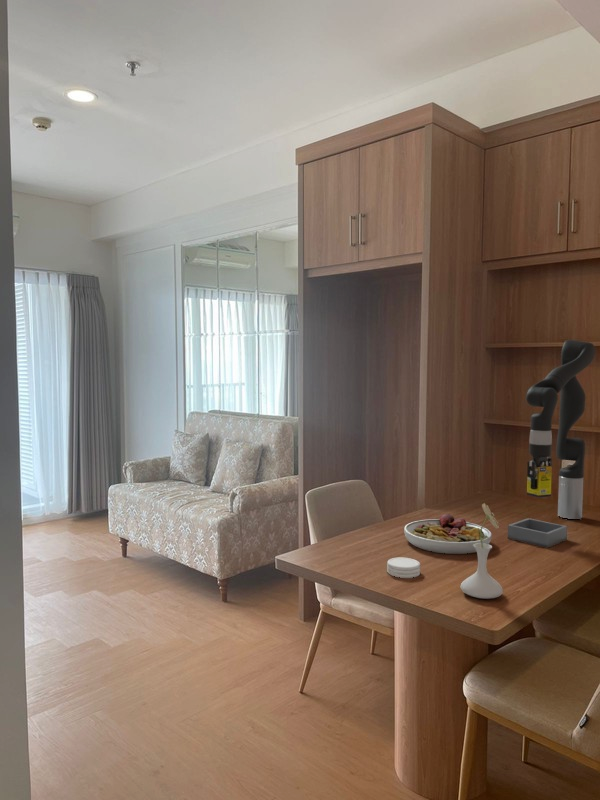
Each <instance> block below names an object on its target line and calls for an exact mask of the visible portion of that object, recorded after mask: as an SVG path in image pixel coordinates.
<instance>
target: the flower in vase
mask: <svg viewBox="0 0 600 800" xmlns="http://www.w3.org/2000/svg"><path fill="white" fill-rule="evenodd" d="M481 507H482V510H483V512H484V514H485V518H484V521H483V523H482V524H481V526H482V527H481V530H480V529H479V531H480V536H481V539H480V540H481V543H476V544H474V545H473V546H474V547H475V549H476V551H477V552H476V554H477V569H476V572H474V573H473V574H471V575H470V576H468V577H467V578H465V579H464V580H463V581H462V582H461V584H460V589H461V591H462V592H463V593H464V594H466V595H468V596H470V597H473V598H477V599H486V600H490V599H496V598H499V597H500V596H501V595H502V594H503V593H504V589H503V587H502V586H501V584H500V583H499V582H498V581H497V580H496V579H494V577H492V576H491V574H489V572H488V570H487V563H488V562H487V560H488V555H489V553H490V551H491V550H492V549H493V546H492V545H491V544H490V543H489V544H485V543H482V540H484V539H486V538H488V536H487V535H486V536H485V537H484V538H482V537H483V535H482V528H483V527H484V526H485V523H486V521H487V520H488V521H489V522H490V524H491V525H492V526H493V527H494V528H495V529H496V530H497V529H500V526H499V525H500V524H499V522H498V520H497V519H496V518H495V514H494V512H491V509H490V507H489V505H487V504H486V503H482V504H481Z"/></svg>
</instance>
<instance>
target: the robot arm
mask: <svg viewBox="0 0 600 800" xmlns="http://www.w3.org/2000/svg"><path fill="white" fill-rule="evenodd" d="M595 348H596V347H595V345H594V344H593V343H591V342H588V341H581V340H574V339H568V340H565V341H564V343H563V345H562V348H561V354H560V355H561V357H560V360H561V361H560V363H561V364H560V366H559V365H558V366H557V367H556V368H553V369H552V370H551V371H550V372H549V373H548V374H547V375H546V376H545V378H543V379H541V380H540V381H538V382H537V383H534V384H533V385H531V386H530V388H529V389H528V390H527V393H526V395H525V398H526V402H527V404H528V405H529V406H531V407H538V408H539V407H540V408H543V409H542V411H541V412H538V413H537V412H536V413H533V414H532V415H531V416H530V430H529V431H530V432H529V439H528V441H529V443H528V445H529V447H528V448H529V450H528V454H529V456H532V459H531V460H527V463H526V464H527V466H526V468H527V469H526V470H527V471H526V475H527V477H530V478H531V489H537V482H538V479H537V478H538V473H539V471H538V470H535V467H543V466H550V467H552V468H553V466H552V465H553V459H552V457H551V456H552V445H553V442H552V441H553V436H552V425H553V423H552V420H553V416H554V412H555V410H556V407H557V404H558V400H559V416H558V417H559V418H558V419H559V422H558V430H557V438H556V445H555V446H556V447H555V448H556V449H555V453H556V457H557V458H558V460H560V461H575V462H574V463H573V464H571V465H569V466H565V467H562V468H560V469H559V472H558V494H557V495H558V499H557V500H558V501H557V517H558V516H560V517H563V518H568V519H580V520H582V519H583V503H584V502H583V500H584V498H583V497H584V474H585V473H584V469H585V468H584V467H585V465H584V464H585V457H586V456H585V455H586V442H585V440H584V438H580V437H567V436H568V434H569V432H570V430H571V429H572V428H573V426H574V425H575V424H576V423H577V421H579V419H580V418H581V417H582V416H583V414H584V412H585V407H586V393H585V390H584V389H583V387H582V385H581V383H580V382H579V380H578V378H577V375H578V374H580V373H581V372H582V371H583V370H584V369H586V368H587V367H588V366H590V365H591V363H592V362H593V360H594V358H595V353H596V349H595ZM559 393H560V397H559V396H558V394H559ZM530 471H531V474H530ZM535 473H536V475H535ZM527 477H526V478H527ZM581 518H582V519H581Z"/></svg>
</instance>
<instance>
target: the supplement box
mask: <svg viewBox="0 0 600 800" xmlns="http://www.w3.org/2000/svg"><path fill="white" fill-rule="evenodd" d="M552 468H553V466H552V467H550V466H543V467H535V470H538V471H539V473H538V478H537V479H538V482H537V489H531V478H530V477H526V478H527V481H526V482H527V484H526V494H527V495H528V496H532V497H536V498H547V497H551V496H552V474H553V473H552V470H553V469H552ZM530 474H531V471H530ZM535 475H536V473H535Z"/></svg>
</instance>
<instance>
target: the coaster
mask: <svg viewBox="0 0 600 800" xmlns="http://www.w3.org/2000/svg"><path fill="white" fill-rule="evenodd" d="M386 564H387V566H386V568H387V569H386V571H387V574H388V575H390V576H392V577H394V576H395V578H399V577H400V579H413V577H414V578H417V577H419V576H420V574H421V563H420V562H419V560H416V559H413V558H410V557H403V556H402V557H393V558H389V559H388V560H387V563H386Z"/></svg>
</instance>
